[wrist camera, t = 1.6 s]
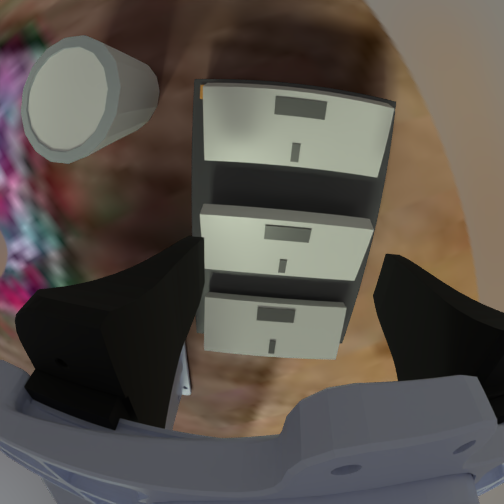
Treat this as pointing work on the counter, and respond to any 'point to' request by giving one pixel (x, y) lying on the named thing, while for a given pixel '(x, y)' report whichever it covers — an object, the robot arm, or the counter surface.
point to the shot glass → (85, 98)
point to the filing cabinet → (281, 197)
